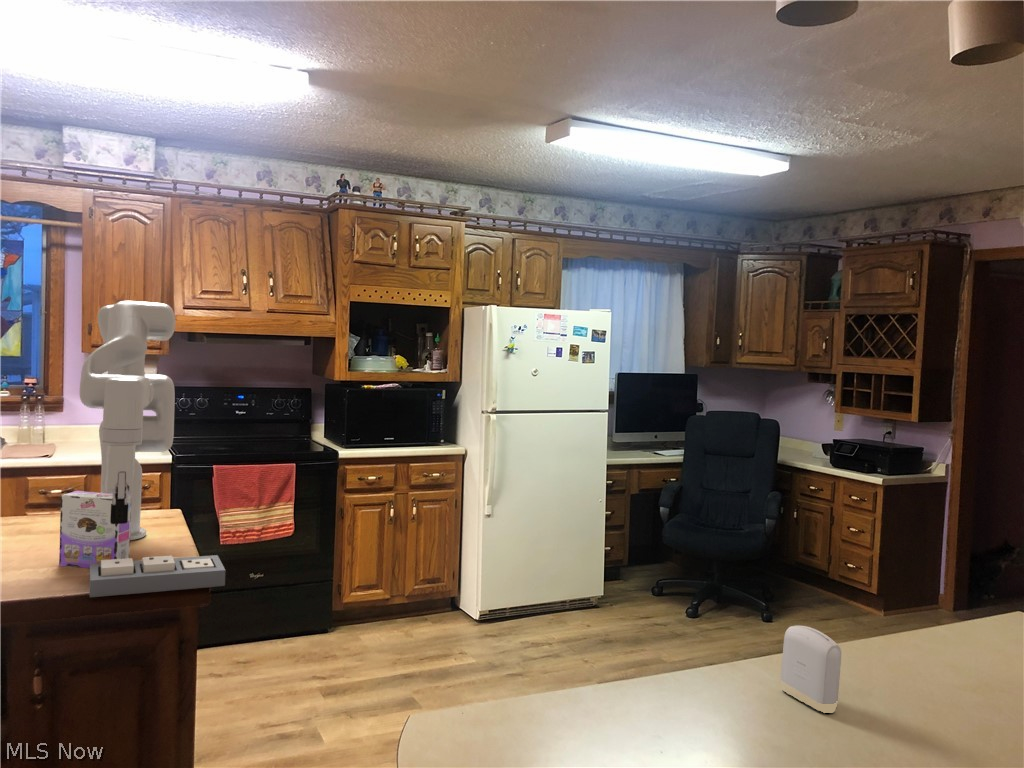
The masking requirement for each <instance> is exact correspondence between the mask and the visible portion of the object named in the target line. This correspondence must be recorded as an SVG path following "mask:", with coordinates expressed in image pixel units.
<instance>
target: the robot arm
mask: <svg viewBox="0 0 1024 768" xmlns="http://www.w3.org/2000/svg"><path fill="white" fill-rule="evenodd" d="M97 312H98V313H97V326H98V330H99V332H100V337H101V338H102V341H103V343H104V344H102V345H101V346H99V347H97V348H96V349H95V350H94V351H92V352H91V353H90V354H89V355H88V356H87V358H85V361H84V362H83V365H82V368H81V371H80V373H81V374H80V381H79V399H80V402H81V403H82V404H83V405H84V406H85V407H86V408H90V409H101V410H103V413H102V420H101V422H100V425H99V429H98V434H99V435H98V437H99V438H98V439H99V444H100V445H99V446H100V451H101V452H100V453H101V454H100V455H101V471H100V472H101V474H100V493H109V494H113V496H112V503H113V504H111V518H110V522H111V524H125V523H127V522H128V503H127V499H128V495H131V522H130V541H134V540H139V539H142V538H144V537H145V536H146V535H147V530H146V529H145V528H144V527H141V515H142V514H141V507H142V486H143V468H142V465H141V464H140V462H139V461H138V460H137V458H136V453H164V452H167V451H168V450H170V449H171V448H172V446H173V442H174V437H175V436H174V435H175V401H176V400H175V399H176V397H175V395H176V394H175V385H174V381H173V380H172V378H171V377H170V376H168V375H166V374H157V373H155V374H153V373H151V374H150V373H146V371H145V363H146V362H145V360H146V354H147V352H148V341H158V342H159V341H161V342H166V341H169V340H170V339H171V338H172V337H173V335H174V332H175V328H176V317H175V316H176V315H175V313H174V310H173V307H171V306H170V305H169V304H166V303H162V302H152V301H151V302H150V301H139V300H137V301H136V300H122V301H121V300H120V301H118V302H117V303H114V304H108V305H103V306H101V308H100V309H99V310H98V311H97ZM106 372H107V373H106ZM144 411H152V412H154V413H155V415H144Z"/></svg>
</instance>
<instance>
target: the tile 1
mask: <svg viewBox="0 0 1024 768" xmlns="http://www.w3.org/2000/svg"><path fill="white" fill-rule="evenodd" d="M133 561H134V559H133V557H129V558H125V559H110V560H101V576H108V575H121V574H133V570H134V565H133Z"/></svg>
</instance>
